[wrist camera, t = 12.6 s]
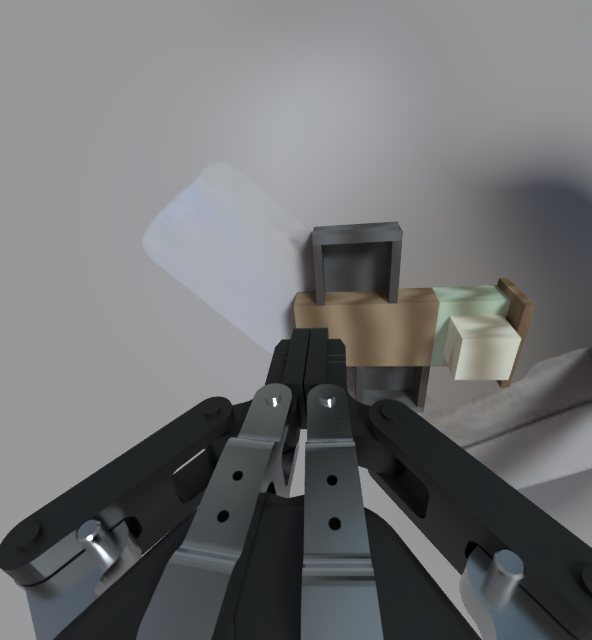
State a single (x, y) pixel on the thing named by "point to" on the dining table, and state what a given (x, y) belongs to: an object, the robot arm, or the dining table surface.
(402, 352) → the box
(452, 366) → the block
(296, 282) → the dining table surface
